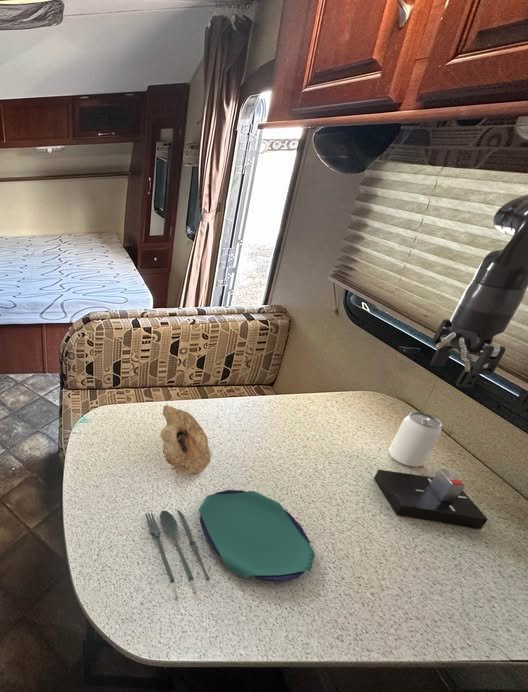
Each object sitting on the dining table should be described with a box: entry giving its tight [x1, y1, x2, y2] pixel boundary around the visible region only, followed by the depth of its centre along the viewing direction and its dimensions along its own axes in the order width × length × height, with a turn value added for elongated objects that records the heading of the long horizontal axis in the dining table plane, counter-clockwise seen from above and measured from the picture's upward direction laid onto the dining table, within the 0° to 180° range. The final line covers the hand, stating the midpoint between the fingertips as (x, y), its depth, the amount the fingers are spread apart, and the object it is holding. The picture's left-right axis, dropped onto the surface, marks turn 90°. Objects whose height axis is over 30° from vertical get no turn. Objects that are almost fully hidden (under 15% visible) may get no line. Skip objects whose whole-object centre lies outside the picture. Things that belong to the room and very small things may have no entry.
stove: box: [373, 468, 489, 530], centre depth 79 cm, size 14×10×3 cm
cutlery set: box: [145, 489, 316, 583], centre depth 74 cm, size 20×30×2 cm, turn 93°
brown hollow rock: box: [160, 404, 211, 475], centre depth 96 cm, size 18×14×8 cm
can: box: [388, 411, 443, 468], centre depth 88 cm, size 6×6×12 cm
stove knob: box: [429, 468, 466, 503], centre depth 77 cm, size 4×2×5 cm, turn 164°
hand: (449, 375), depth 80 cm, fingers open, 8 cm apart
